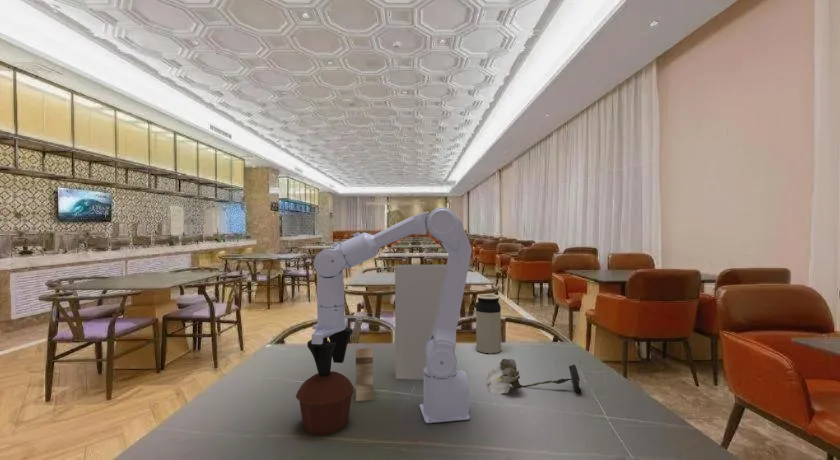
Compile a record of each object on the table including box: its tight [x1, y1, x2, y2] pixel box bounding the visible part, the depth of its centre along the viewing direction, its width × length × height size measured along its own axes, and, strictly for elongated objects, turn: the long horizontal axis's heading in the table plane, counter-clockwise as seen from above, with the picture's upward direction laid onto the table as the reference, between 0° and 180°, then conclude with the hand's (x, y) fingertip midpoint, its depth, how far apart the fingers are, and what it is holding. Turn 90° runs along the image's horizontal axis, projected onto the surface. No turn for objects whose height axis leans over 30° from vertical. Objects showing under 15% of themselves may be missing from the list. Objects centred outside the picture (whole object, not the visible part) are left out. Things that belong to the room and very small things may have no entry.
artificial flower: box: [485, 358, 582, 395], centre depth 94 cm, size 9×22×10 cm, turn 81°
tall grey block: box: [394, 264, 447, 381], centre depth 104 cm, size 14×6×30 cm, turn 84°
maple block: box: [355, 347, 374, 402], centre depth 92 cm, size 4×7×10 cm, turn 9°
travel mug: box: [475, 293, 502, 355], centre depth 126 cm, size 8×8×18 cm
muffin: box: [295, 370, 355, 435], centre depth 78 cm, size 12×11×10 cm
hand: (331, 368), depth 82 cm, fingers open, 7 cm apart
